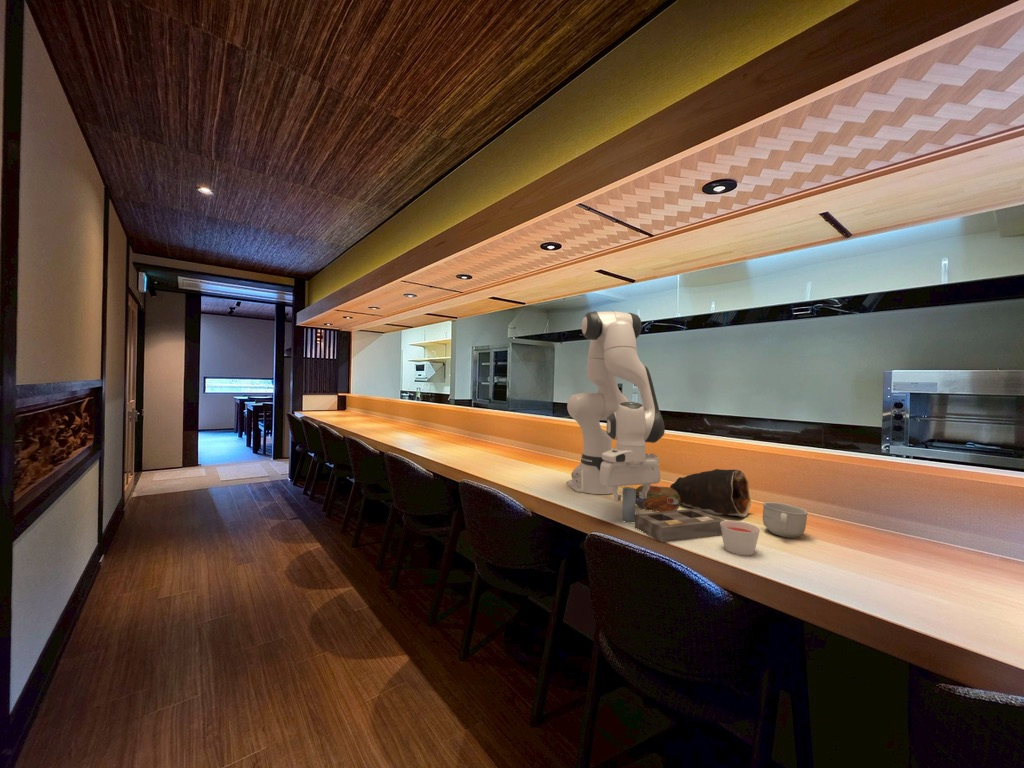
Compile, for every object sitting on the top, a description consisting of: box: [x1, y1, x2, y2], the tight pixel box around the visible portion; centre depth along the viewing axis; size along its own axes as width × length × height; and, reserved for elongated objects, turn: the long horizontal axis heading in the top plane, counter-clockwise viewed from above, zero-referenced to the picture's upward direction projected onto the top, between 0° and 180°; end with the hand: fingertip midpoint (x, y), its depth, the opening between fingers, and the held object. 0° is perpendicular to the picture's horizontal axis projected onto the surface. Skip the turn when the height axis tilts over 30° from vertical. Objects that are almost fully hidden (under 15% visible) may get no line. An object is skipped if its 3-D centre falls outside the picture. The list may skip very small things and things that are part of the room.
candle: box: [720, 519, 761, 556], centre depth 108 cm, size 9×9×6 cm
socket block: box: [634, 508, 726, 543], centre depth 121 cm, size 12×22×4 cm, turn 109°
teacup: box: [762, 501, 809, 539], centre depth 120 cm, size 14×11×8 cm
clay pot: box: [669, 468, 752, 518], centre depth 145 cm, size 15×15×25 cm
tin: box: [635, 484, 681, 512], centre depth 141 cm, size 15×3×8 cm, turn 62°
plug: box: [621, 486, 637, 523], centre depth 130 cm, size 4×4×10 cm
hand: (630, 499), depth 129 cm, fingers open, 8 cm apart
